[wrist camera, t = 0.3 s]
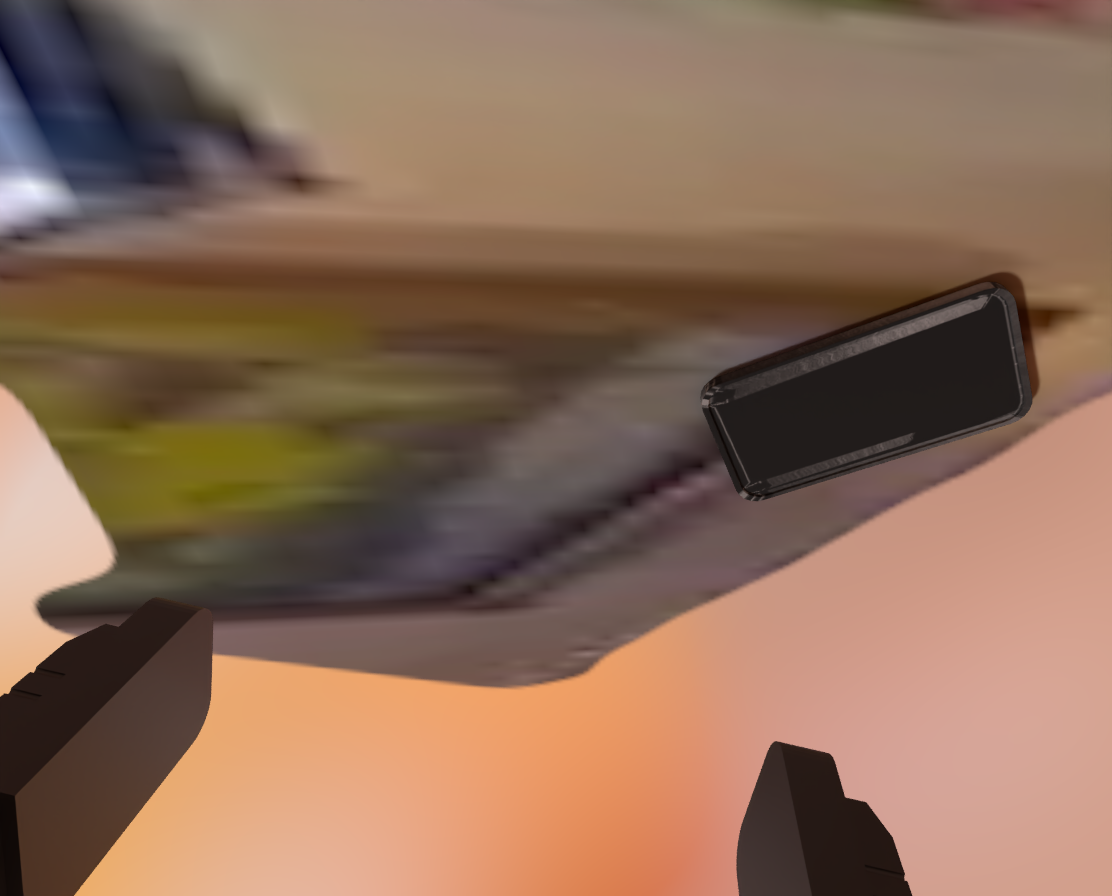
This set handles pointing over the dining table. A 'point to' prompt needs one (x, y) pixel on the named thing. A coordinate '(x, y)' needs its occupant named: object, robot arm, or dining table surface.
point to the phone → (872, 393)
